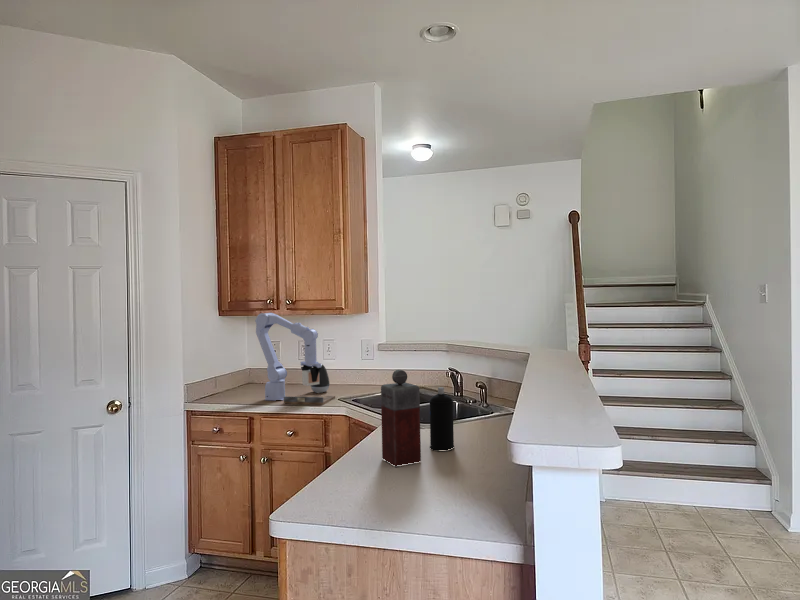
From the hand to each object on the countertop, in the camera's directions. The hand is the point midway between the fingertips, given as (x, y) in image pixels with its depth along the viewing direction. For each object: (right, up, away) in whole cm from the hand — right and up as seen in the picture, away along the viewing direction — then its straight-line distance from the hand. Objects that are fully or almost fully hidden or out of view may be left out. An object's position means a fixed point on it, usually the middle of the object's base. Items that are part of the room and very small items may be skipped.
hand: (311, 381), depth 262 cm
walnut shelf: (0, -10, -1) cm, 10 cm away
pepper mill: (+44, -10, -99) cm, 108 cm away
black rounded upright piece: (+1, -10, +23) cm, 25 cm away
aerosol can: (+58, -9, -87) cm, 104 cm away
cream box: (0, -2, 0) cm, 2 cm away
